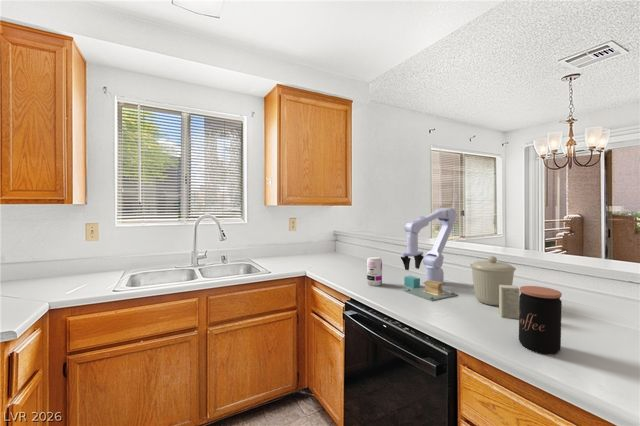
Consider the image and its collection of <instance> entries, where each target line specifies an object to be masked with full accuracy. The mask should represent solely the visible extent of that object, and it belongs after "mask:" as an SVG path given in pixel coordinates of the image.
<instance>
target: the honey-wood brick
mask: <svg viewBox="0 0 640 426" xmlns="http://www.w3.org/2000/svg"><path fill="white" fill-rule="evenodd" d="M424 281H425V283H424V286H425V292H429V293H434V294H441V293H442V290H443V285H444V284H443V283H441V282H436V281H431V280H428V281H426V280H424Z"/></svg>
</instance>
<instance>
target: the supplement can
mask: <svg viewBox="0 0 640 426" xmlns="http://www.w3.org/2000/svg"><path fill="white" fill-rule="evenodd" d="M366 283H367V285H368V286H371V287H379V286H381V285H382V284H383V260H382V258H381V257H380V256H368V257H367V260H366Z"/></svg>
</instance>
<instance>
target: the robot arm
mask: <svg viewBox="0 0 640 426" xmlns="http://www.w3.org/2000/svg"><path fill="white" fill-rule="evenodd" d="M457 216H458V215H457V212H456V209H454V208H453V207H449V208H447V207H445V208H444V207H443V208H441V207H439V208H437V209H435V210H434V211H433V212H431V213H430V214H428V215H426V216H424V215H422V216H421V215H420V216H419V217H418V218H417V219H414V220H412V221H411V222H407V223H406V224H405V226H404V231H405V234H406V251H405V252H401V253H400V259H401V260H402V264H403V267H404V270H405V271H409V270H410V263H411V259H412V258H411V257H413V259H414V267H415V269H416V270H417V269H418V270H419V269H420V267H421V264H422V263H423V265H424V267H425V280H423V281H422V283H423V284H425V281H428V280H431V281H436V282H441V283H443V285H444V284H445V279H444V274H445V273H444V270H443V268H442V266H443V264H444V263H443V262H444V258H445V257H444V255H443V254H442V253H443V252H444V251H443V250H444V249H445V247H446V245H447V242H448V240H449V237H450V236H451V235H450V234H451V233H452V230H453V228H454V224H455V221H456V218H457ZM435 220H438V221H439V223H440V224H441V228H440V230H439V233H438V235H437V237H436V239H435V242H434V244H433V246H432V248H431V250H428V251H427V252H426V254H425V255H424V251H419V233H420V231H421V230H422V229H424V228H425V227H427V226H429V225H430V222H433V221H435Z"/></svg>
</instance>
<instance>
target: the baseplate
mask: <svg viewBox="0 0 640 426" xmlns="http://www.w3.org/2000/svg"><path fill="white" fill-rule="evenodd" d="M403 291H404V292H405V293H408V294H411V295H413V296H416V297H419V298H422V299H424V300H427V301H430V302H434V301H438V300H443V299H449V298H452V297H453V298H454V297H456V296H459V294H458V293H456V292H454V291H447V290H444V289H442V293H441V294H434V293H429V292H425V285H424V286H420V287H419V288H406V289H404V290H403Z"/></svg>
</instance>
